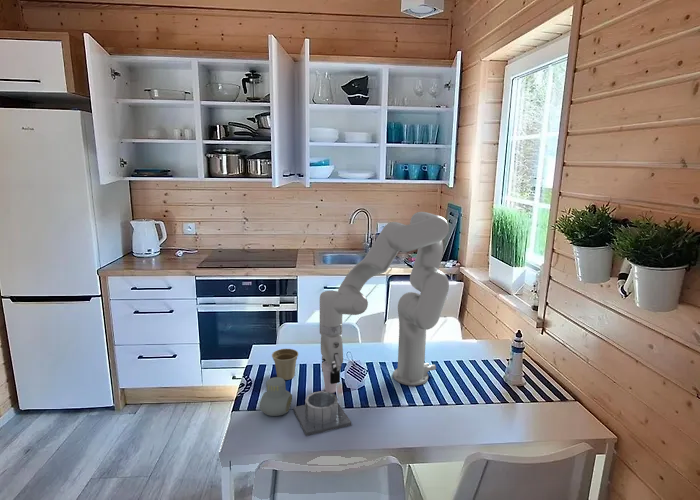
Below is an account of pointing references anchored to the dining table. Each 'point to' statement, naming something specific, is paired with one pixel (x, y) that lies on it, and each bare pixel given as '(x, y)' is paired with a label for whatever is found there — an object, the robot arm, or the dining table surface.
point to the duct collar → (321, 413)
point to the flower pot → (285, 363)
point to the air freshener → (275, 398)
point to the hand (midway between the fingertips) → (330, 376)
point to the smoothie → (328, 377)
